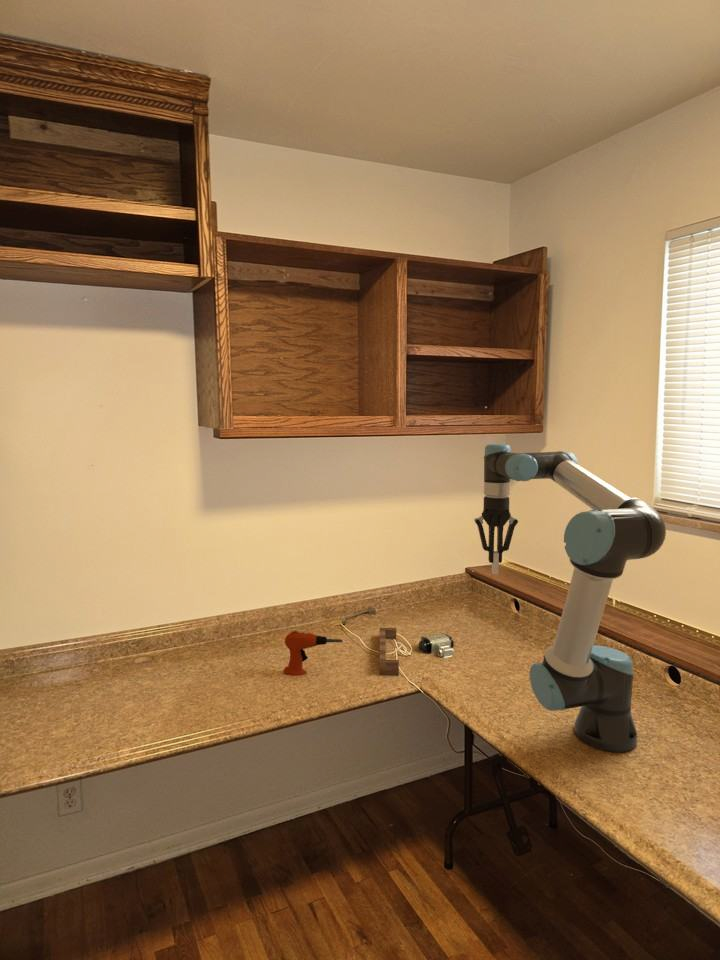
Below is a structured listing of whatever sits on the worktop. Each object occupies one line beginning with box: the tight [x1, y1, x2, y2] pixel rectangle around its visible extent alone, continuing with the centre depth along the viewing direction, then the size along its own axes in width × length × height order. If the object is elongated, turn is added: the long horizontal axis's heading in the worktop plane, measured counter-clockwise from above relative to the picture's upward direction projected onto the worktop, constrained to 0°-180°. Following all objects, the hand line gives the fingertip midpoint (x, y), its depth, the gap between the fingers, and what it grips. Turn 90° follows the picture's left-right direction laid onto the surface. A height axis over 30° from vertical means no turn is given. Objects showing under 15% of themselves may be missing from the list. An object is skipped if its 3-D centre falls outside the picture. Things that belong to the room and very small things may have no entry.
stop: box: [379, 627, 400, 677], centre depth 202 cm, size 30×6×5 cm, turn 178°
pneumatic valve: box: [418, 632, 455, 659], centre depth 206 cm, size 6×12×12 cm
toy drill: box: [283, 630, 343, 677], centre depth 187 cm, size 5×19×15 cm, turn 87°
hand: (494, 573), depth 180 cm, fingers closed
